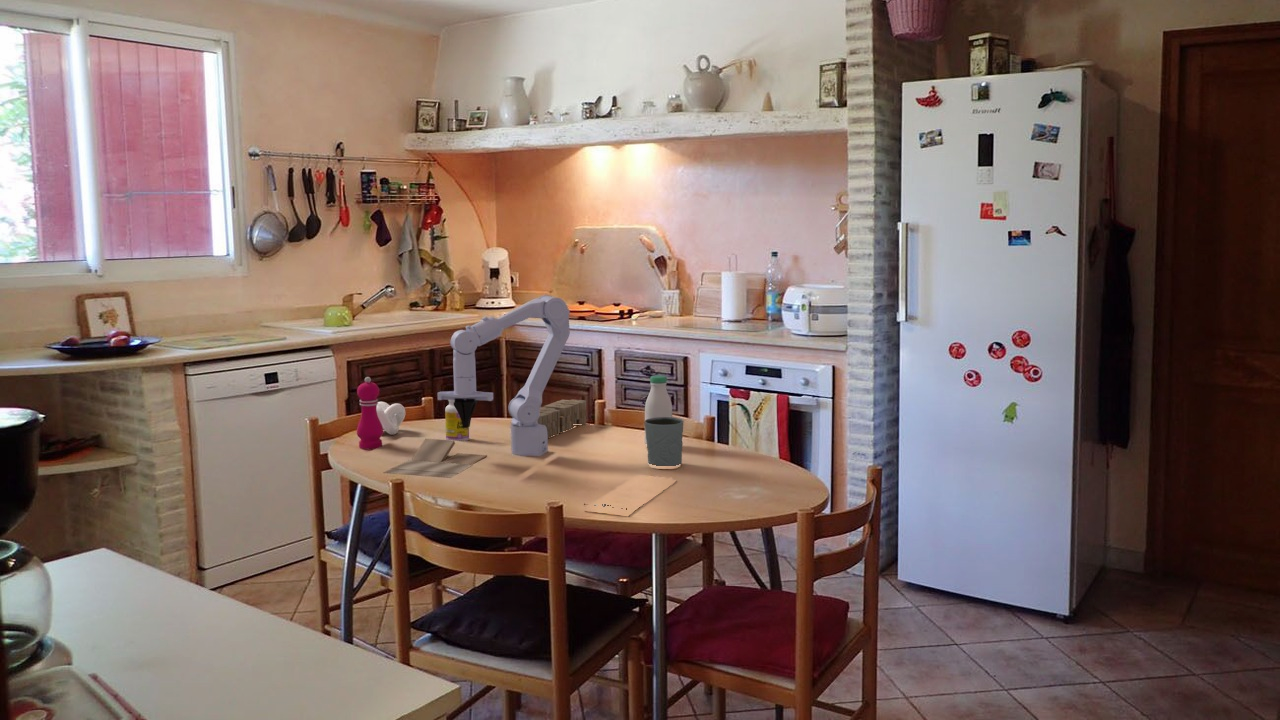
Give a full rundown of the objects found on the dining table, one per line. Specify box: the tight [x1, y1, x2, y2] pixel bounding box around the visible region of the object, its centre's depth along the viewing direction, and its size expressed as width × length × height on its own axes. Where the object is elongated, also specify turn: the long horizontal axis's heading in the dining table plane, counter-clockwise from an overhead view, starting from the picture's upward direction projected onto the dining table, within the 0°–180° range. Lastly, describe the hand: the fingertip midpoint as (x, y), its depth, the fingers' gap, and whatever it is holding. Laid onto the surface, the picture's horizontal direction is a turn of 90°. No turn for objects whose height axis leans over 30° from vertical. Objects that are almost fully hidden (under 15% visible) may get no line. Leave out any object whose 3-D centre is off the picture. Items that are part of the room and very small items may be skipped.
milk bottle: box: [644, 374, 673, 445], centre depth 287 cm, size 8×8×20 cm
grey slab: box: [383, 459, 474, 479], centre depth 262 cm, size 18×13×1 cm
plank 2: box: [441, 452, 488, 465], centre depth 271 cm, size 8×9×1 cm
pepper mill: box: [356, 376, 384, 450], centre depth 288 cm, size 7×7×20 cm
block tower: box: [538, 398, 587, 438], centre depth 307 cm, size 8×8×29 cm
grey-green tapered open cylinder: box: [644, 416, 684, 466], centre depth 267 cm, size 10×10×12 cm
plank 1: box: [411, 438, 456, 463], centre depth 273 cm, size 8×9×1 cm
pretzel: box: [376, 401, 406, 436], centre depth 307 cm, size 11×12×9 cm
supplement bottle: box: [444, 400, 470, 442], centre depth 296 cm, size 7×7×13 cm
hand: (466, 427), depth 271 cm, fingers closed
